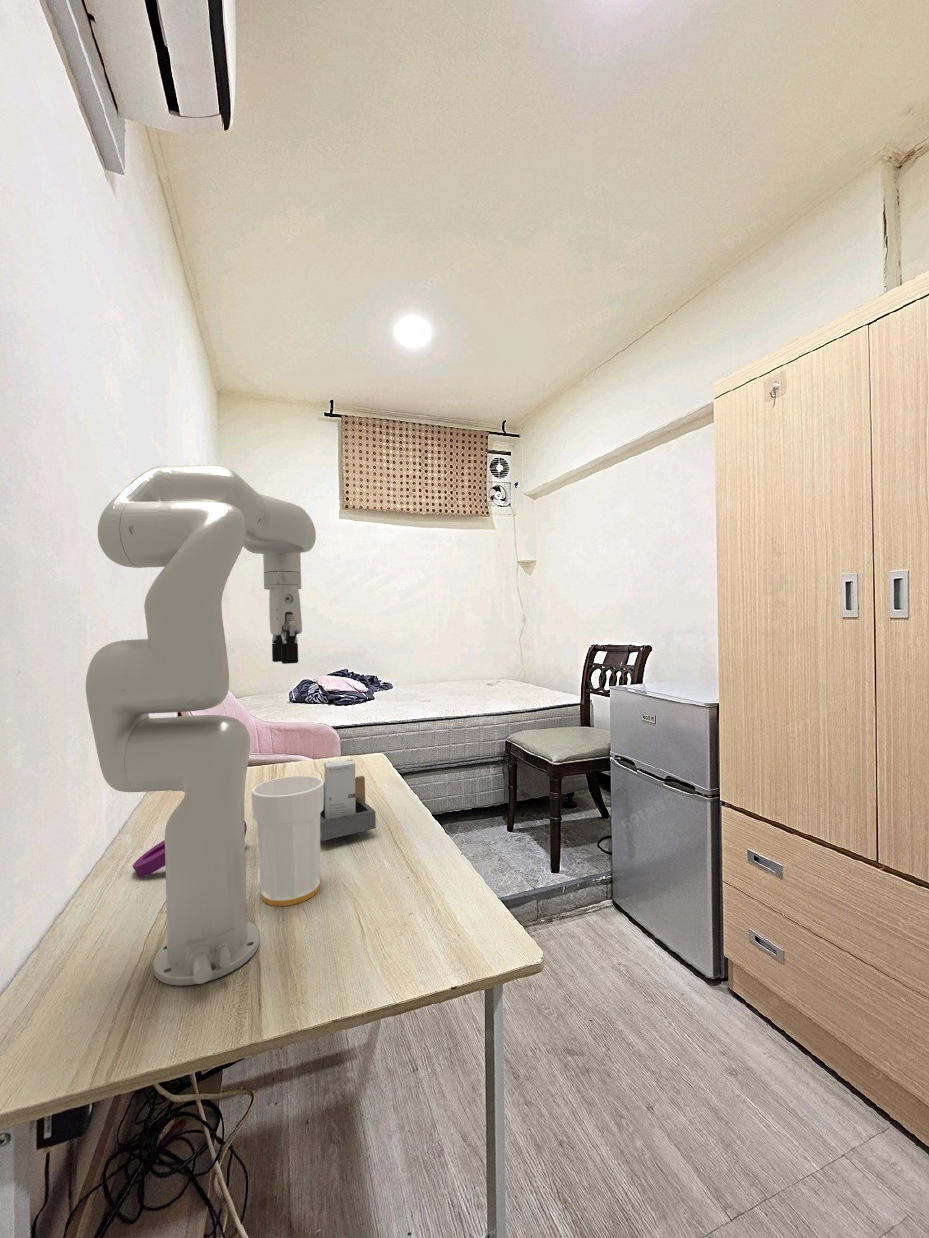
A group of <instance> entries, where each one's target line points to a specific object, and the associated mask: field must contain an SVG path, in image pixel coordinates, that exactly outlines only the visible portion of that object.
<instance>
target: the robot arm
mask: <svg viewBox="0 0 929 1238" xmlns="http://www.w3.org/2000/svg"><path fill="white" fill-rule="evenodd" d="M316 533H317V531H316V527H315V525H314V522H313V520H312V518H311V516H310V515H309V514H308V513H307V511H306V510H305V509H304V508H302V507H301V506H299V505H297V504H296V503H292V502H289V501H285V500H282V499H277V498H274V497H273V496H268V495H264V494H260V493H259V492H257V491H256V490H255V488H253V487H252V486H251V485H250V484H249V483H248V482H246V481H245V480H244V479H243V478H242V477H241V476H240V475H239V474H238V473H236V472H235V471H234V470H232V469H230V468H227V467H224V466H218V465H213V464H212V465H211V464H209V465H208V464H207V465H205V464H203V465H201V464H196V465H187V464H186V465H185V464H184V465H158V466H155V467H152V468H150V469H148V470H146V471H144V472H143V473H141V474H139V475H138V476H137V477H136V478H135V479H133V480H132V481H131V482H130V483H129V484H128V485H127V486H126V487H125V488H124V489H123V490H121V491H120V492H119V493H118V494H117V495H116V496H115V497H114V498H113V499H112V500H111V501H109V503H108V504H107V505H106V507H105V508H104V510H103V511H102V513H101V515H100V518H99V520H98V524H97V539H98V544H99V547H100V548H101V550H102V551H103V553H104V554H105V556H106V557H107V558H108V559H109V560H111V562H113V563H115V564H117V565H120V566H122V567H127V568H132V569H133V568H136V569H137V568H138V569H143V568H144V569H145V568H163V569H162V570H161V571H160V572H159V574H158V575H157V577H156V578H155V579H154V581H153V582H152V584H151V586H150V587H149V589H148V591H147V594H146V595H145V600H144V604H143V605H144V606H143V607H144V609H143V610H144V614H145V624H146V632H147V633H146V634H147V638H145V639H144V638H142V639H123V640H117V641H113V642H110V643H107V644H105V645H104V646H103V647H101V648H100V649H99V650H98V651H96V652H95V654H94V655H93V657H92V659H91V660H90V662H89V665H88V669H87V673H86V678H85V695H86V703H87V707H88V708H87V709H88V712H89V718H90V724H91V727H92V733H93V738H94V743H95V749H96V753H97V759H98V764H99V766H100V770H101V774H102V776H103V778H104V781H105V782H106V783H107V784H108V786H109V787H110V788H112V789H114V790H115V791H118V792H122V793H146V792H147V793H149V792H164V791H172V792H175V791H176V792H177V791H178V792H180V791H181V792H183V793H184V797H182V800H181V801H180V802H179V804H178V805H177V806H176V807H175V809H174V810H173V811H172V813H171V814H170V816H169V817H168V820H167V821H166V825H165V829H164V840H165V866H164V867H165V901H166V913H165V914H166V943H165V944H163V946H161V948H160V949H159V951H158V952H157V953H156V954H155V957H154V960H153V974H154V976H155V977H156V979H157V980H158V981H160V982H162V983H164V984H167V985H170V986H171V985H172V986H193V985H198V984H199V985H202V984H205V983H207V982H211V981H212V980H216V979H219V978H221V977H224V976H225V975H228V974H230V973H232V972H233V971H235V970H236V969H239V968H240V967H241V966H243V965H244V964H246V962H248V961H249V960H250V959H251V958H252V957H253V956H254V954H255V953H256V952H257V950H258V949H259V946H260V941H261V939H260V938H261V935H260V929H259V928H258V926H256V924H254V923H253V922H250V921H248V915H247V914H248V910H247V909H248V908H247V905H248V904H247V876H246V875H247V873H246V871H247V870H246V865H247V864H246V835H245V822H246V820H245V799H246V798H245V793H246V792H245V791H246V782H247V781H246V779H247V772H248V768H249V767H248V765H249V759H250V751H251V736H250V732H249V729H248V727H247V726H246V724H244V723H243V722H242V721H240V720H239V719H237V718H235V717H232V716H228V715H221V714H217V715H216V714H205V715H204V714H202V715H201V714H200V715H180V716H173V717H172V716H171V717H170V716H169V717H168V716H167V717H150V715H149V714H165V713H168V714H169V713H188V712H197V711H204V710H205V711H206V710H209V709H212V708H215V707H217V706H218V705H220V704H222V703H223V701H225V699H226V698H227V696H228V693H229V688H230V671H229V670H230V669H229V661H228V651H227V644H226V643H227V642H226V635H225V628H224V620H223V610H222V608H223V607H222V606H223V605H222V602H223V596H224V595H223V594H224V590H225V586H226V583H227V582H228V579H229V577H230V575H231V572H232V571H233V568H234V566H235V564H236V562H237V559H238V558H239V556H240V554H241V552H242V549H243V548H244V549H246V550H247V551H248V552H250V553H252V554H256V555H258V554H261V555H262V557H263V559H262V560H263V589H264V590H266V591H267V590H268V592H269V596H268V597H269V598H268V600H269V605H268V606H269V609H268V610H269V615H268V616H269V630H270V634H272V639H271V640H272V641H271V642H272V644H271V658H272V659H271V661H272V662H273V663H281V664H284V665H289V664H298V663H299V644H298V641H299V639H298V635H300V634H301V633H302V632H303V622H302V620H303V619H302V607H301V598H300V592H299V590H301V589H302V565H301V564H302V563H301V553H302V554H303V553H307V552H309V551H311V550H312V549H313V548H314V545H315V543H316V539H317V537H316V536H317V535H316ZM244 820H245V821H244Z"/></svg>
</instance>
